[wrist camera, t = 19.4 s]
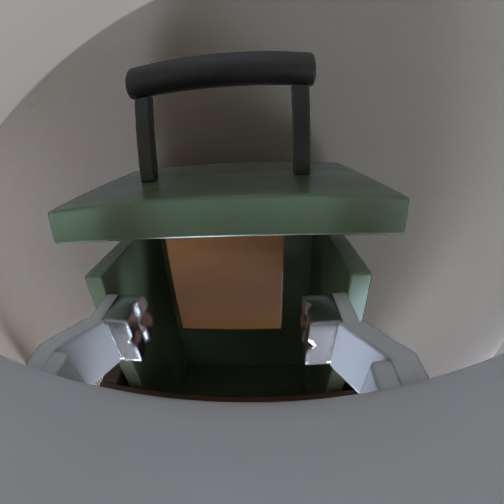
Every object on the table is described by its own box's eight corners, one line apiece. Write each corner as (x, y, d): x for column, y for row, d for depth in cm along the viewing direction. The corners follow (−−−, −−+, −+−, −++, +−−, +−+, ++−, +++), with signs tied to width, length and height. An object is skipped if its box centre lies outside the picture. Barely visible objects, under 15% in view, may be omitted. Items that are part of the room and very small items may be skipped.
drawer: (128, 91, 12) (35, 75, 5) (337, 77, 12) (409, 39, 5) (173, 358, 21) (149, 440, 13) (318, 358, 20) (335, 444, 13)
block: (190, 204, 14) (163, 236, 10) (276, 201, 14) (284, 232, 10) (199, 279, 16) (181, 329, 12) (276, 278, 16) (282, 329, 12)
